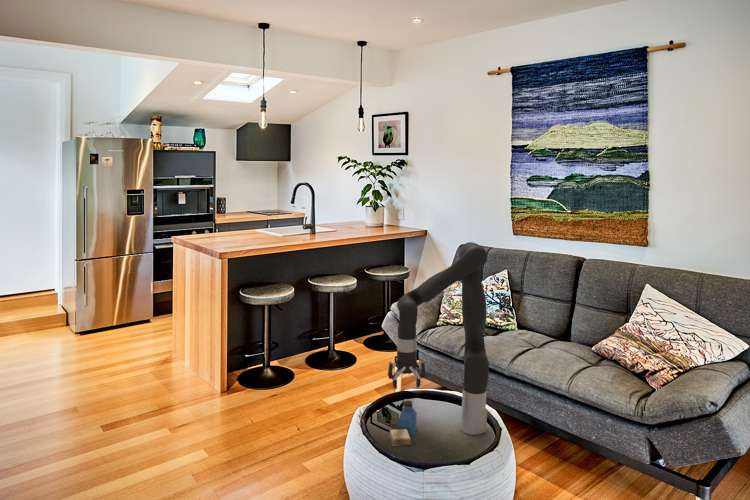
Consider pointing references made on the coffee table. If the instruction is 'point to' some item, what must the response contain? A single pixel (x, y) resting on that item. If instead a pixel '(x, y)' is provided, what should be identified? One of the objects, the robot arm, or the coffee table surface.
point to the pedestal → (400, 437)
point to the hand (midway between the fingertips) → (406, 387)
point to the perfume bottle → (408, 418)
